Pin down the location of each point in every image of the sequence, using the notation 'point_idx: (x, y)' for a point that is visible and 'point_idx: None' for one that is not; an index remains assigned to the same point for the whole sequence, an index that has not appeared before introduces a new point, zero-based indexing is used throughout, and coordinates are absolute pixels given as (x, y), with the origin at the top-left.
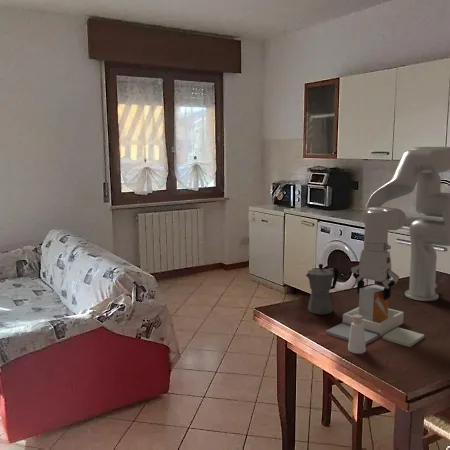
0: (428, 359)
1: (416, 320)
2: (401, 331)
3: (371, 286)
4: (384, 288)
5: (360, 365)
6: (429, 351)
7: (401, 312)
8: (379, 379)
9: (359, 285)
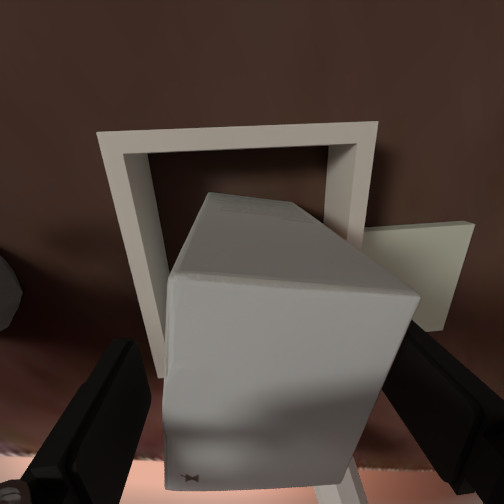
0: (493, 349)
1: (388, 19)
2: (388, 261)
3: (208, 384)
4: (460, 493)
5: (361, 463)
6: (492, 307)
7: (368, 137)
8: (414, 471)
9: (118, 491)
